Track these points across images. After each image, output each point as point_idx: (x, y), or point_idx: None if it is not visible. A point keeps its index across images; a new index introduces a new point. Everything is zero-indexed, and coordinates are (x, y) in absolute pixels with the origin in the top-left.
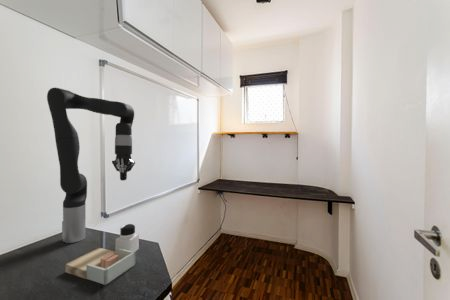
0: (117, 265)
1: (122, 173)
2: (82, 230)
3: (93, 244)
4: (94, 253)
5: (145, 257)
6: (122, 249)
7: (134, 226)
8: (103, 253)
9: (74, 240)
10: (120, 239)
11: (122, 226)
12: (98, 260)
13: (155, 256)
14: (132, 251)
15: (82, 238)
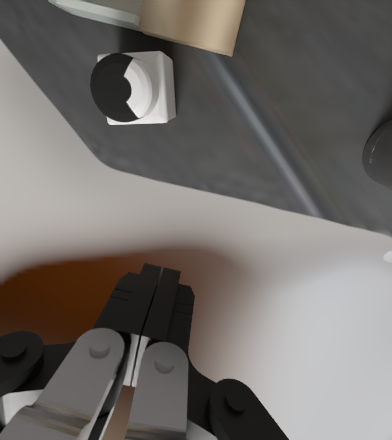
0: None
1: (120, 323)
2: (382, 157)
3: (300, 124)
4: (219, 2)
5: (69, 66)
6: (108, 12)
7: (94, 100)
8: (185, 8)
9: (385, 126)
10: (141, 54)
11: (136, 76)
12: None
13: (44, 78)
14: (61, 4)
15: (366, 151)
